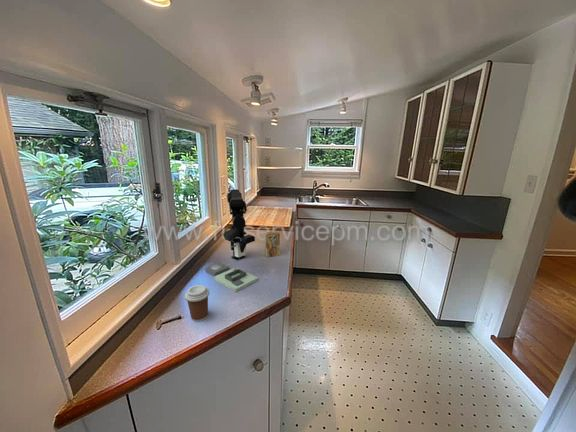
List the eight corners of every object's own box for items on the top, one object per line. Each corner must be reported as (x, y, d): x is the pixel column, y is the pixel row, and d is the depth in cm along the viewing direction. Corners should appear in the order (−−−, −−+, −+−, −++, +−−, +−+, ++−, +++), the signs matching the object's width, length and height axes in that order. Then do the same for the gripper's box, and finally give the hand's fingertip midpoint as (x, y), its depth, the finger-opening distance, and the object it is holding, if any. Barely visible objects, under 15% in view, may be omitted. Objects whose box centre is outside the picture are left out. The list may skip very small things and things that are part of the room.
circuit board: (214, 279, 124) (213, 273, 123) (236, 269, 135) (235, 263, 134) (235, 291, 113) (235, 285, 112) (257, 280, 123) (257, 274, 122)
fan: (205, 271, 132) (205, 267, 131) (219, 266, 139) (219, 261, 138) (215, 277, 126) (214, 272, 126) (229, 271, 133) (228, 266, 132)
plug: (233, 259, 123) (232, 246, 121) (230, 257, 125) (229, 245, 123) (246, 254, 129) (245, 241, 128) (243, 252, 131) (242, 240, 129)
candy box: (278, 253, 156) (277, 230, 153) (280, 255, 153) (279, 232, 149) (264, 255, 154) (264, 232, 150) (266, 257, 150) (265, 234, 146)
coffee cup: (214, 318, 95) (211, 291, 92) (190, 327, 90) (186, 298, 87) (208, 306, 102) (205, 280, 99) (185, 313, 98) (182, 287, 95)
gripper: (214, 223, 124) (216, 252, 127) (237, 230, 112) (239, 261, 115) (231, 219, 132) (233, 246, 135) (255, 225, 120) (256, 254, 124)
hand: (240, 251), depth 127 cm, fingers closed on plug, 3 cm apart
